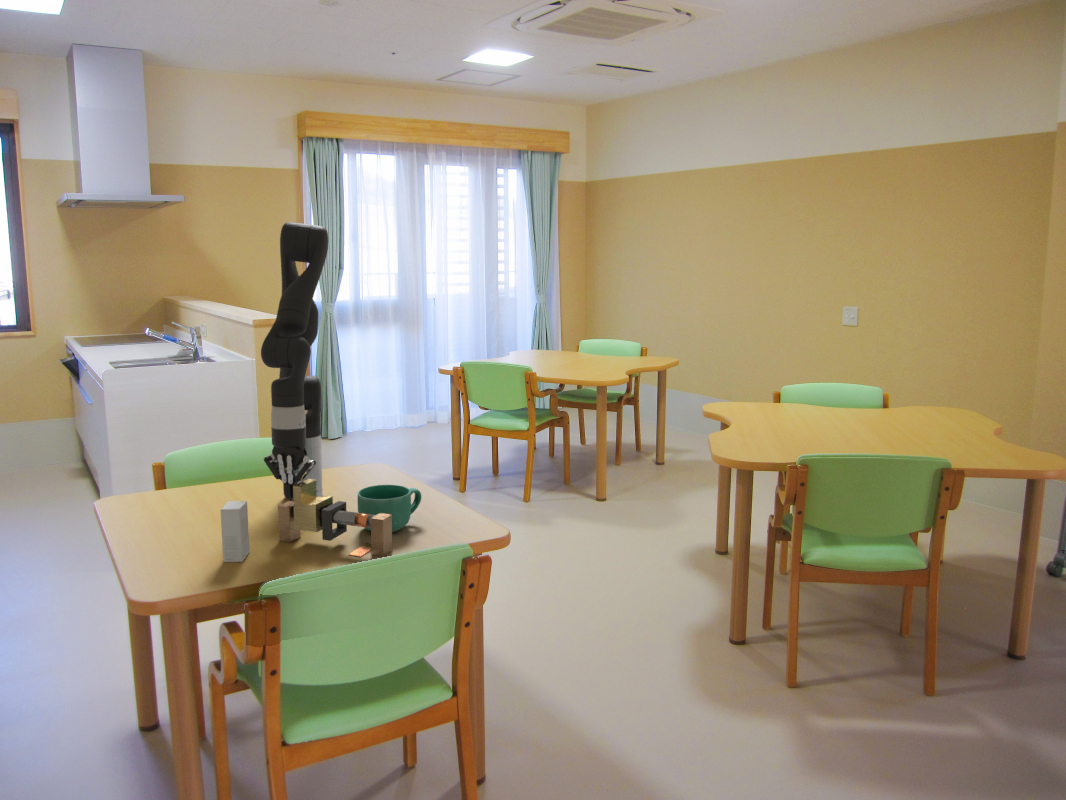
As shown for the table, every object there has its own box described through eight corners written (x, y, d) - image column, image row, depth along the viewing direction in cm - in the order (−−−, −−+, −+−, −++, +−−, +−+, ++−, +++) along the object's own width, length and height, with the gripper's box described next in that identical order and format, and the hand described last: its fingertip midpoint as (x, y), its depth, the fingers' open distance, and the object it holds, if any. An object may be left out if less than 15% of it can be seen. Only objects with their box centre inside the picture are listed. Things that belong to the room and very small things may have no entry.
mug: (371, 541, 190) (371, 502, 188) (349, 526, 199) (348, 489, 198) (434, 528, 199) (434, 491, 197) (410, 515, 209) (410, 479, 207)
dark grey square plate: (322, 539, 183) (321, 509, 182) (339, 530, 189) (338, 501, 188) (330, 540, 182) (329, 510, 181) (346, 531, 189) (346, 502, 187)
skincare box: (230, 552, 181) (227, 500, 179) (250, 552, 181) (247, 500, 179) (222, 562, 175) (219, 509, 173) (242, 562, 175) (240, 509, 173)
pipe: (274, 543, 187) (272, 508, 185) (294, 532, 194) (293, 498, 193) (379, 559, 178) (378, 522, 177) (396, 547, 186) (395, 511, 184)
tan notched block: (293, 529, 185) (292, 486, 183) (311, 520, 191) (309, 478, 190) (316, 532, 183) (315, 489, 181) (333, 523, 190) (332, 481, 188)
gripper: (253, 425, 183) (256, 499, 186) (303, 430, 179) (306, 505, 182) (274, 419, 190) (276, 490, 193) (323, 423, 186) (324, 496, 189)
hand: (290, 497), depth 188 cm, fingers closed
